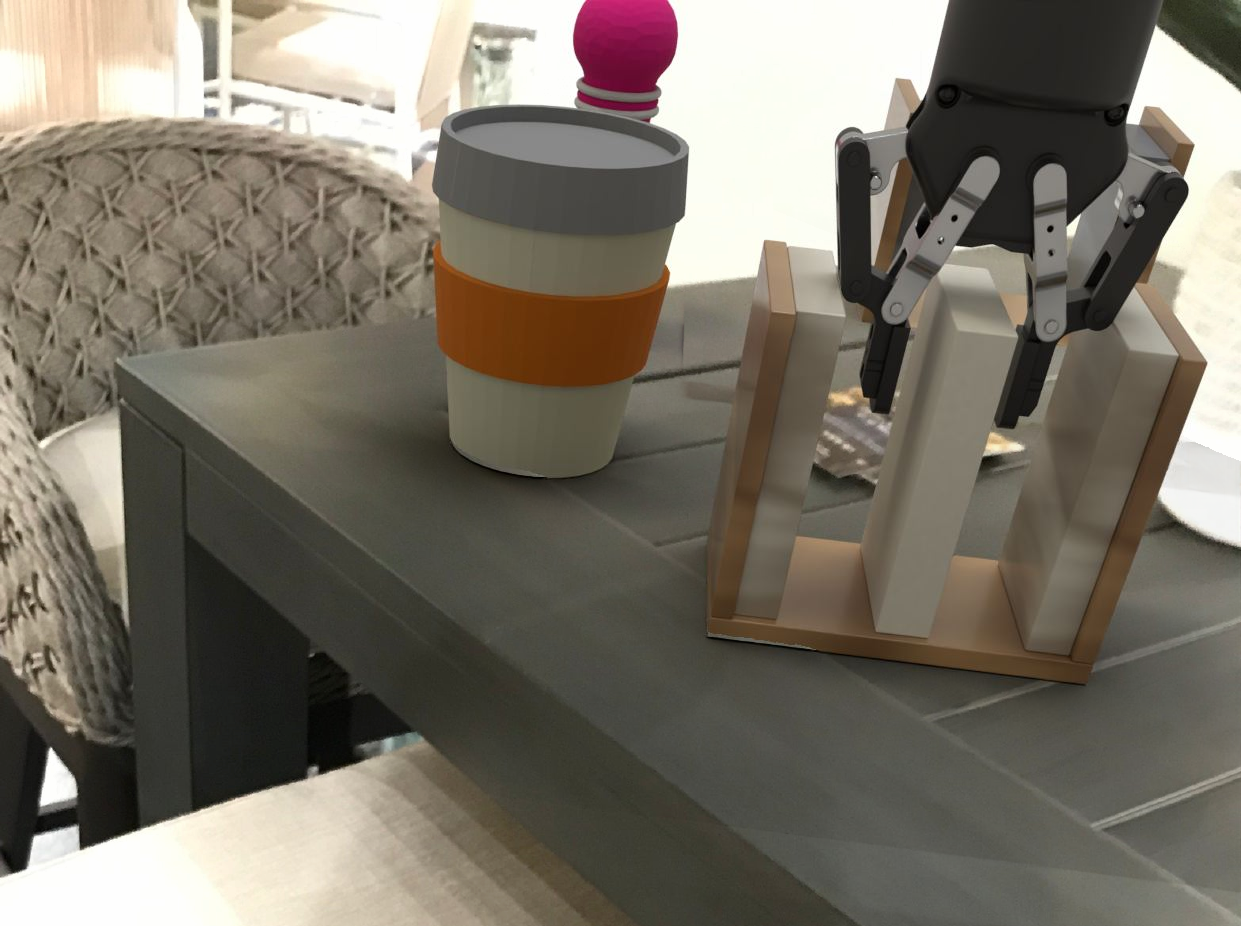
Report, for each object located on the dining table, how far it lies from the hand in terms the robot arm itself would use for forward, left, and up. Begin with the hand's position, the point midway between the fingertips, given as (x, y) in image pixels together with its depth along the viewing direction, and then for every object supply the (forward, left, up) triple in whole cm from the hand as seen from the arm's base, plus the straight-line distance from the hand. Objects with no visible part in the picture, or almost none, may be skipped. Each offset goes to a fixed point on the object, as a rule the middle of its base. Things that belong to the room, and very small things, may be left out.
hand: (941, 413), depth 70 cm
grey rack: (-10, -45, -9) cm, 47 cm away
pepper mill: (+16, -36, -9) cm, 40 cm away
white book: (0, 0, -8) cm, 8 cm away
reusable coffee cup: (+18, -15, -9) cm, 25 cm away
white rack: (0, 0, -9) cm, 9 cm away
